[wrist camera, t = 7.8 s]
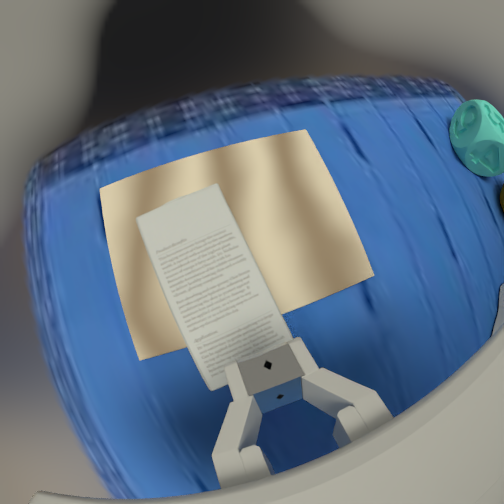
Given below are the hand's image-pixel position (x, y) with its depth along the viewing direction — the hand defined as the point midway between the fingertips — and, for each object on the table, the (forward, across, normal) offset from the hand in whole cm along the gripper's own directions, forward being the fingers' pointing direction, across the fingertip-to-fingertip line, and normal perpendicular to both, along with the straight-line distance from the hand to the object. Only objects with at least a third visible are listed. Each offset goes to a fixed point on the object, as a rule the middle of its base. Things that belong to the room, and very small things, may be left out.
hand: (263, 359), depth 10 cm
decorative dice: (+15, -38, +1) cm, 41 cm away
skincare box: (+4, 0, +7) cm, 8 cm away
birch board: (+13, -2, +2) cm, 13 cm away
